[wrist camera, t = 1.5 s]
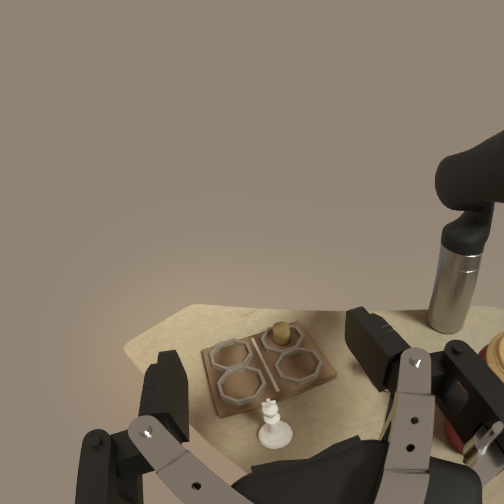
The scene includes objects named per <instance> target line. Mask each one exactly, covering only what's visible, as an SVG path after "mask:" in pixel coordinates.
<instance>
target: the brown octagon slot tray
mask: <svg viewBox="0 0 504 504" xmlns="http://www.w3.org/2000/svg"><path fill="white" fill-rule="evenodd" d="M202 351H203V356H204V360H205V364H206V369H207V373H208V377H209V381H210V385H211V389H212V393H213V397H214V401H215V405H216V409H217V413H218V415H219V417H220V418H224V417H228V416H232V415H235V414H239V413H242V412H246V411H249V410H252V409H256V408H259V407H262V403H263V402H267V401H266V399H268V398H270V401H273V400H276V402H277V401H280V400H282V399H285V398H288V397H291V396H293V395H296V394H299V393H301V392H304V391H306V390H309V389H311V388H314V387H316V386H319V385H321V384H323V383H326V382H328V381H330V380H332V379H335V378H336V375H337V372H336V371H335V369H334V368H333V367H332V365H331V364H330V363H329V361H328V360H327V359H326V357H325V356H324V355H323V354H322V352H321V351H320V350H319V348H318V347H317V346H316V344H315V343H314V342H313V340H312V339H311V338H310V336H309V335H308V334H307V332H306V331H305V330H304V328H303V327H302V326H301V324H300V323H299V322H298V321H295V322H292V323H289V324H288V323H286V322H278V323H276V324H274V326H273V327H270V328H268V329H267V330H266V331H265V332H262V333H259V334H255V335H252V336H249V337H245V338H242V339H239V340H238V339H230V340H227V341H223V342H219V343H218V344H217V345H216V346H214V347H210V348H206V349H202Z"/></svg>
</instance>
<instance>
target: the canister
mask: <svg viewBox="0 0 504 504" xmlns="http://www.w3.org/2000/svg"><path fill="white" fill-rule="evenodd" d="M478 355H479V357H480V358H481V359H482V360H483V361H484V362H485V363H486V364H487V365H488V366H489V367H490V368H491V369H492V370H493V372H494V373H495V374H496V375H497V376H498V377H499V378H500V379H501V380H502V382H503V383H504V332H502V333H499V334H498V335H496V336H495V337H494V338H493V339H492V340H491V341H490V343H489V344H488V345H486V346H485V347H484V348H483V349H482V350H481V351H480V352H479V354H478ZM462 389H463V390H464V392H465V393H466V394H467V395H468V393H467V391H466V390H465V389H464V387H463V386H462ZM445 429H446V434H447V437H448V439H449V441H450V443H451V444H452V445H453V447H454V448H455V449H457V450H458V451H459V452H461V453H463V449H464V444H463V443H462V441H461V440H460V438H459V437H458V435H457V433H456V432H455V430H454V429H453V427H452V426H451V424H450V423H449V421H448V420H447V418H446V420H445Z"/></svg>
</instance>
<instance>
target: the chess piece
mask: <svg viewBox="0 0 504 504" xmlns="http://www.w3.org/2000/svg"><path fill="white" fill-rule="evenodd" d="M266 401H267V402H263V403H262V412H263V413H264V414H265V415H264V421H265V422H266V423H265V424H264V425H263V426H262V427H261V428H260V430H259V435H258V437H259V441H260V443H261V444H262V445H263V446H265V447H267V448H270V449H279V448H282V447H284V446H286V445H287V444H288V443H289V442H290V441H291V439H292V436H293V432H292V429H291V427H290V426H289V425H288V424H287V423H285V422H283V421H279V420H280V415H279V413H277V412H278V406H277V404H276V400H273V401H270V398H268V399H266Z"/></svg>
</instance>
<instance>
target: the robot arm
mask: <svg viewBox="0 0 504 504" xmlns="http://www.w3.org/2000/svg"><path fill="white" fill-rule="evenodd" d="M435 188H436V192H437V195H438V197H439V199H440V200H441V202H442V203H443V204H444V205H445V206H446V207H447V208H449V209H452V210H458V211H464V213H463V214H462V215H461V216H460V217H459V218H458V219H456V220H455V221H453V222H451V223H449V224H447V225H446V226H445V227H444V228H443V230H442V237H441V245H440V252H439V259H438V266H437V272H436V278H435V283H434V288H433V293H432V297H431V301H430V306H429V310H428V314H427V321H428V323H429V325H430V326H431V327H432V328H433V329H435V330H436V331H439V332H441V333H446V334H451V333H456V332H458V331H459V330H461V329H462V327H463V325H464V322H465V319H466V316H467V313H468V310H469V307H470V303H471V300H472V297H473V293H474V290H475V286H476V282H477V278H478V274H479V270H480V265H481V260H482V255H483V250H484V245H485V243H486V241H487V239H488V237H489V233H490V228H491V223H492V217H493V211H494V204H495V202H500V203H504V130H503V131H502V132H500V133H498V134H496V135H494V136H493V137H491V138H489V139H487V140H485V141H484V142H482V143H481V144H479V145H477V146H475V147H474V148H472V149H470V150H467V151H465V152H461V153H458V154H455V155H451V156H448V157H446V158H444V159H443V160H442V161H441V162H440V164H439V166H438V168H437V171H436V175H435ZM345 341H346V344H347V346H348V348H349V349H350V351H351V352H352V354H353V355H354V356H355V358H356V359H357V361H358V362H359V364H360V365H361V366H362V368H363V369H364V371H365V372H366V374H367V375H368V377H369V378H370V380H371V381H372V382H373V384H374V385H375V387H376V388H377V390H378V391H379V393H380V392H382V391H384V390H386V389H388V391H389V392H390V394H389V397H388V403H387V408H386V413H385V418H384V423H383V427H382V431H381V434H380V437H379V440H360V438H359V436H358V435H357V436H354V437H352V438H349V439H347V440H344V441H341V442H339V443H336V444H333V445H332V446H330V447H328V448H327V449H325V450H323V451H322V452H320V453H318V454H317V455H315V456H313V457H311V458H309V459H302V460H283V461H275V462H271V463H266V464H261V465H256V466H251V469H252V473H250V474H247V475H246V476H244V477H242V478H240V479H239V480H237V481H236V482H235V483H234V484H233V485H232V486H229V485H228V484H227V483H225V482H224V481H223V480H222V479H220V478H219V477H218V476H217V475H216V474H214V473H213V472H212V471H211V470H210V469H209V468H207V467H206V466H205V465H204V464H203V463H201V461H200V460H198V459H197V458H196V457H195V456H194V455H193V454H192V453H191V452H189V451H187V450H186V449H185V448H184V447H183V446H182V442H189V409H188V379H187V375H186V372H185V370H184V367H183V365H182V363H181V361H180V358H179V356H178V354H177V352H176V350H170V351H163V352H159V354H158V361H157V364H151V365H150V366H149V368H148V369H147V371H146V372H145V377H144V383H143V390H142V395H141V402H140V408H139V415H138V418H136V419H134V420H133V421H132V422H131V423H130V425H129V428H128V429H127V430H125V431H122V432H119V433H115V434H112V435H109V434H108V433H107V432H106V431H104V430H101V429H96V430H92V431H90V432H89V433H87V434H86V436H85V437H84V439H83V442H82V448H81V455H80V461H79V468H78V477H77V486H76V498H75V504H143V484H142V483H143V482H142V474H145V473H148V472H152V471H155V470H156V474H157V475H158V476H159V478H160V479H161V480H162V481H163V482H164V483H165V484H166V485H167V486H168V488H169V489H170V490H171V491H172V492H173V493H174V494H175V495H176V496H177V497H178V498H179V499H180V500H181V501H182V502H183V503H184V504H482V487H483V486H484V485H485V484H487V483H488V482H489V481H490V480H491V479H492V478H494V477H495V476H496V475H498V474H499V473H500V472H502V471H503V470H504V383H503V382H502V380H501V379H500V378H499V377H498V376H497V375H496V374H495V373H494V372H493V370H492V369H491V368H490V367H489V366H488V365H487V364H486V363H485V362H484V361H483V360H482V359H481V358H480V357H479V355H478V354H477V353H476V352H475V351H474V350H473V349H472V348H471V347H470V346H469V345H468V344H467V343H465V342H463V341H461V340H451V341H449V342H448V343H447V344H446V346H445V348H444V351H440V352H435V353H429V354H428V352H426V351H425V350H423V349H421V348H411V347H410V346H409V345H408V344H407V342H406V341H405V340H404V339H403V338H402V337H401V336H400V335H399V334H398V333H397V332H396V331H395V330H393V328H392V327H391V326H390V325H389V324H388V323H387V322H386V321H385V320H384V319H383V318H382V317H380V316H378V315H376V314H374V313H372V314H369V313H368V312H367V311H366V309H365V308H364V307H362V306H361V307H357V308H355V309H351V310H348V311H347V312H346V323H345ZM458 381H459V383H460V384H461V385H462V386H463V387H464V389H465V390H466V391H467V393H468V395H467V394H466V393H465V392H464V390H463V389H462V388H461V387H460V385H459V384H458V383H457V382H458ZM435 402H436V404H437V405H438V407H439V408H440V410H441V411H442V413H443V414H444V415H445V417H446V418H447V420H448V421H449V423H450V424H451V426H452V427H453V429H454V430H455V432H456V433H457V435H458V437H459V438H460V440H461V441H462V443H463V444H464V449H463V463H464V464H466V465H462V464H457V463H453V462H449V461H446V460H442V459H438V458H435V457H431V456H430V453H431V446H432V437H433V426H434V412H435Z"/></svg>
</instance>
